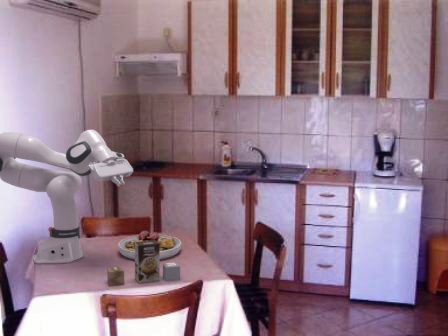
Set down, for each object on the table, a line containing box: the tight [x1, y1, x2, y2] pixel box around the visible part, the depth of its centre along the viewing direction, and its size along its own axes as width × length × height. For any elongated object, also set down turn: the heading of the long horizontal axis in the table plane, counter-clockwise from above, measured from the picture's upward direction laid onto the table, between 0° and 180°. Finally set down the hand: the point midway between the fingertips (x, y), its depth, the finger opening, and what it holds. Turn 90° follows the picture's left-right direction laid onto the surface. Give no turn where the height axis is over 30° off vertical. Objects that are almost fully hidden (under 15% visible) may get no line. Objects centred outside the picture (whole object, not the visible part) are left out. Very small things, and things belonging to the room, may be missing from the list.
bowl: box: [117, 230, 182, 261], centre depth 278 cm, size 30×30×8 cm
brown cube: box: [106, 265, 125, 287], centre depth 237 cm, size 6×6×6 cm
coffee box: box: [134, 240, 161, 284], centre depth 241 cm, size 9×6×16 cm
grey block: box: [162, 261, 181, 282], centre depth 243 cm, size 6×6×6 cm
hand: (121, 185), depth 249 cm, fingers closed
